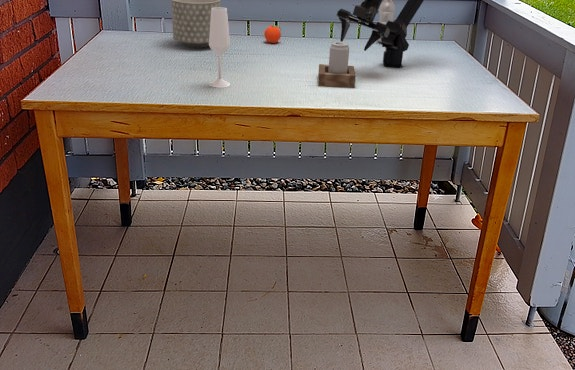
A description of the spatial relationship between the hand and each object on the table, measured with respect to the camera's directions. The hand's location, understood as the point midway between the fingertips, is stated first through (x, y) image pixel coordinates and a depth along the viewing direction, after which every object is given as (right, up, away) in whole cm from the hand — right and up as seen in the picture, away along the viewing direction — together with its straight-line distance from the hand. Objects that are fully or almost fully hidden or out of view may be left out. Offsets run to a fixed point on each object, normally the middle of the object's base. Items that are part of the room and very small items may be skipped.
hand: (352, 46), depth 198 cm
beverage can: (-6, -12, -5) cm, 14 cm away
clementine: (-29, +11, +42) cm, 52 cm away
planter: (-59, +8, +33) cm, 68 cm away
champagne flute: (-45, -16, -12) cm, 49 cm away
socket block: (-6, -13, -4) cm, 15 cm away
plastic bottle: (+19, +13, +49) cm, 54 cm away
